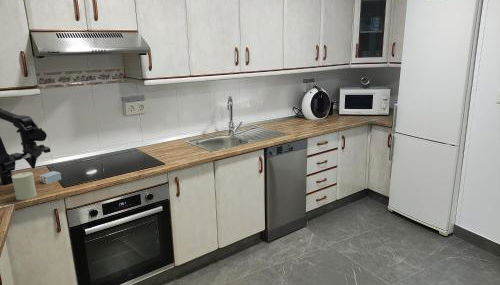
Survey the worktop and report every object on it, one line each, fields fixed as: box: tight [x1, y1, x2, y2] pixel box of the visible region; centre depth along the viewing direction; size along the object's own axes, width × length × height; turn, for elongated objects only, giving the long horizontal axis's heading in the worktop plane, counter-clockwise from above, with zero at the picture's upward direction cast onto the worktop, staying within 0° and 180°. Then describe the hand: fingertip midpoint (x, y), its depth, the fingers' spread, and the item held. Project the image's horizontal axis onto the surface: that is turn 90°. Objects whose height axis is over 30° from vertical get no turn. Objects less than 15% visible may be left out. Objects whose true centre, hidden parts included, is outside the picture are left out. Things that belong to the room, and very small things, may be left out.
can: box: [12, 171, 38, 201], centre depth 181 cm, size 9×9×12 cm
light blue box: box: [39, 170, 62, 185], centre depth 203 cm, size 7×4×8 cm
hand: (33, 168), depth 195 cm, fingers closed
